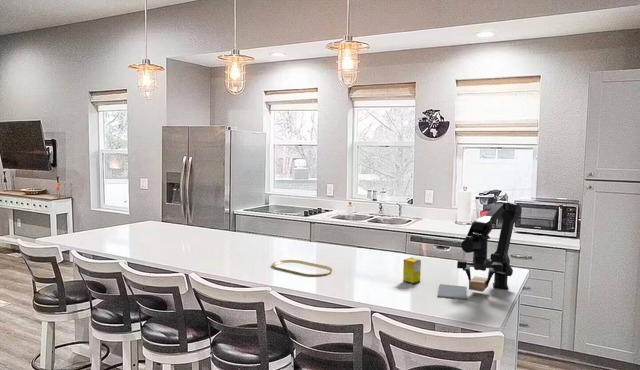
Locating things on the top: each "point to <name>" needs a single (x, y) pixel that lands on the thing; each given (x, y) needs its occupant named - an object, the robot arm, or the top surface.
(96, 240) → the top surface
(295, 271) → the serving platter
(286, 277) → the top surface
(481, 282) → the cardboard box
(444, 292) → the slate mat
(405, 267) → the supplement box
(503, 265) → the robot arm
